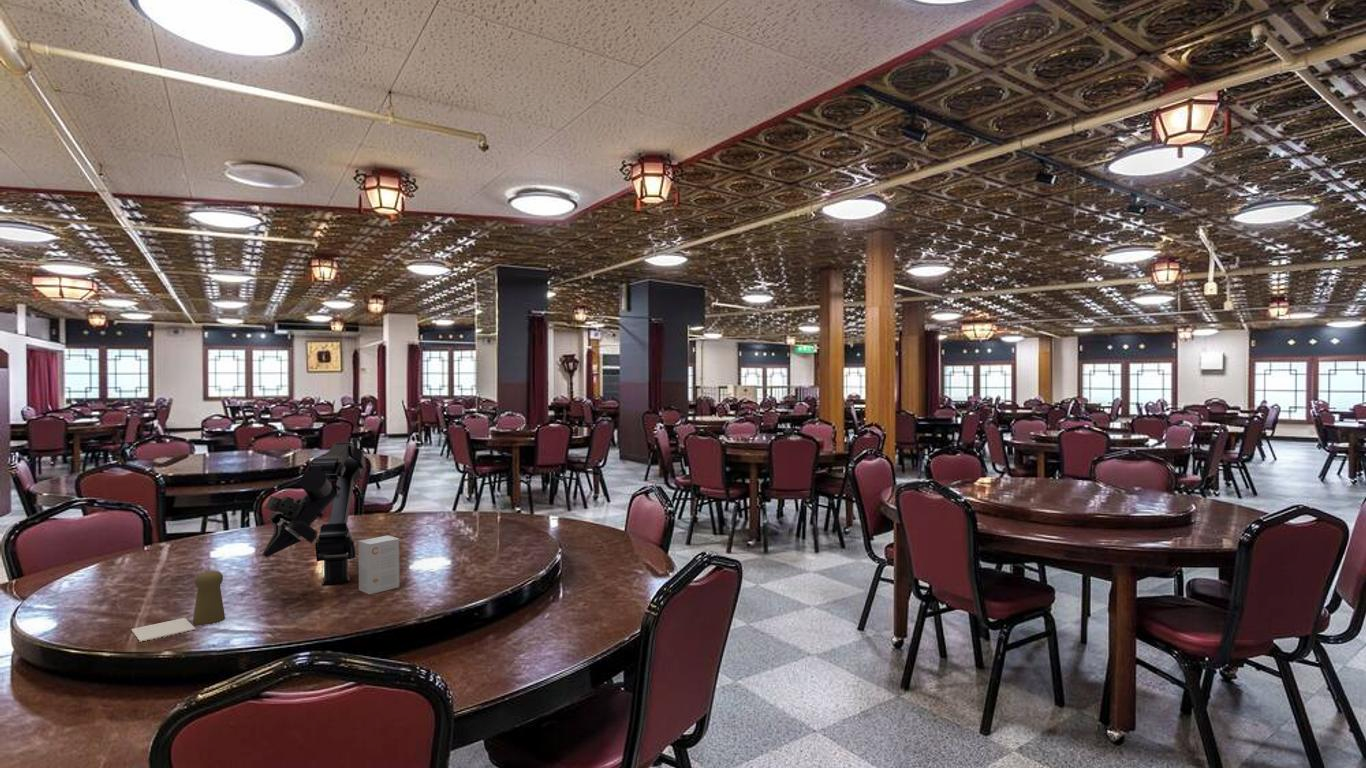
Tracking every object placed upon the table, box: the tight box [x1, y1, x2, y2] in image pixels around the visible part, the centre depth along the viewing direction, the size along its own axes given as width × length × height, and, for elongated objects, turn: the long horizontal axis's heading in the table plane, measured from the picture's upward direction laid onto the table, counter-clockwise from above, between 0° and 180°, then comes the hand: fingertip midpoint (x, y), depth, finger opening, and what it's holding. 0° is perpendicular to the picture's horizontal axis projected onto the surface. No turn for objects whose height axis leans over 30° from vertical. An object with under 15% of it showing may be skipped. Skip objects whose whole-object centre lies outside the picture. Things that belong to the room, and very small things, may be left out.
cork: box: [192, 570, 226, 626], centre depth 151 cm, size 6×6×11 cm
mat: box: [130, 617, 197, 643], centre depth 145 cm, size 10×10×1 cm
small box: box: [357, 535, 400, 595], centre depth 174 cm, size 8×6×13 cm
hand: (264, 555), depth 159 cm, fingers closed
